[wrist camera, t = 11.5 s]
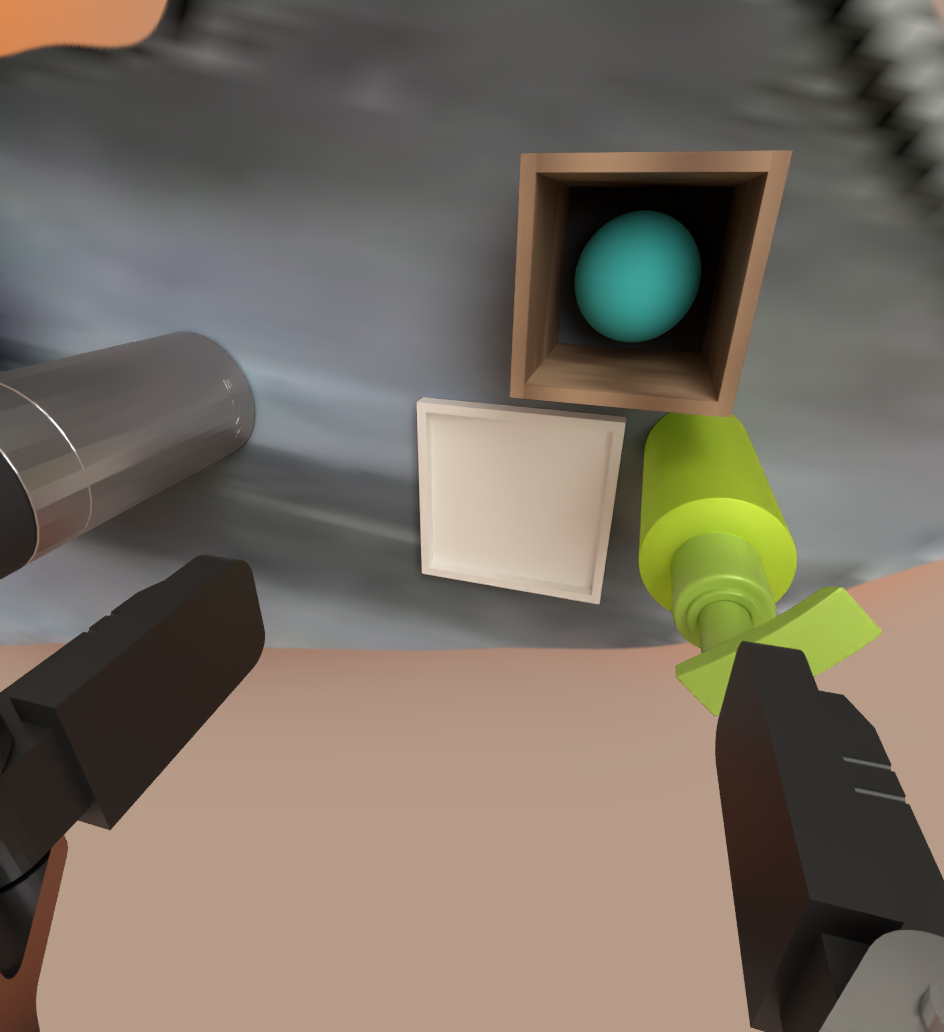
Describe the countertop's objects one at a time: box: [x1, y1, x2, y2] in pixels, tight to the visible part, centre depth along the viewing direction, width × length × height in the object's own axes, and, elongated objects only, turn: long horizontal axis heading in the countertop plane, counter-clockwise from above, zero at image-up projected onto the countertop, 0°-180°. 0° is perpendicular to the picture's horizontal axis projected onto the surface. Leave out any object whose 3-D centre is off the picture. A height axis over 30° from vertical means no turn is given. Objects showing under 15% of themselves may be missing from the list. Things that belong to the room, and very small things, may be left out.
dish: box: [417, 397, 626, 604], centre depth 38 cm, size 13×13×1 cm
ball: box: [575, 210, 701, 342], centre depth 28 cm, size 6×6×6 cm
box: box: [510, 151, 792, 418], centre depth 26 cm, size 10×9×10 cm
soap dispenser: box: [639, 412, 882, 716], centre depth 25 cm, size 6×7×20 cm
